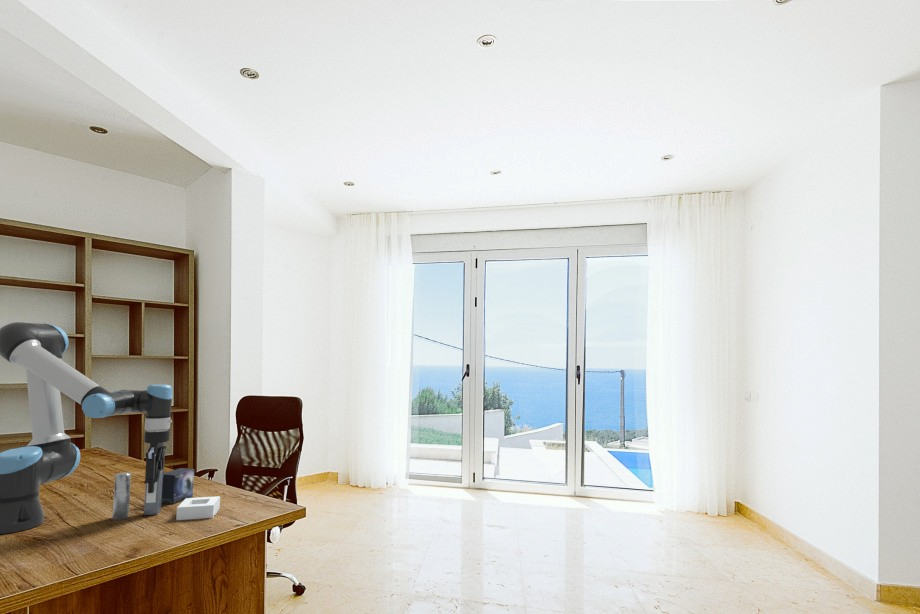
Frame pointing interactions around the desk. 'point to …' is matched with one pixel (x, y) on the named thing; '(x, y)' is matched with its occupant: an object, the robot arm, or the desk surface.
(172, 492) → the small box
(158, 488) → the square bit
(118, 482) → the round bit
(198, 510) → the socket block
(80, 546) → the desk surface
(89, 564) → the desk surface
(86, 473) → the desk surface
